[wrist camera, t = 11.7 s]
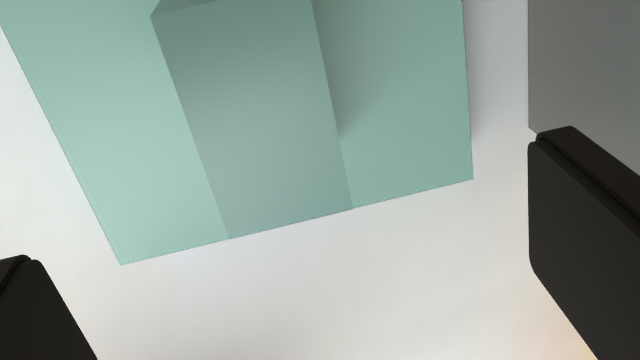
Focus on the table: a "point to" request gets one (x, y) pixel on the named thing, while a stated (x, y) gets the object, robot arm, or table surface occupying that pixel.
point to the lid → (245, 108)
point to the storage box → (587, 71)
